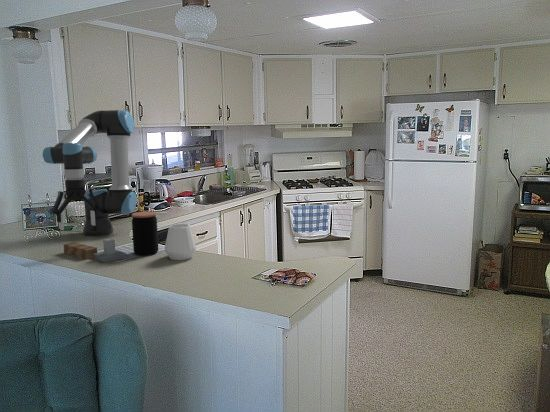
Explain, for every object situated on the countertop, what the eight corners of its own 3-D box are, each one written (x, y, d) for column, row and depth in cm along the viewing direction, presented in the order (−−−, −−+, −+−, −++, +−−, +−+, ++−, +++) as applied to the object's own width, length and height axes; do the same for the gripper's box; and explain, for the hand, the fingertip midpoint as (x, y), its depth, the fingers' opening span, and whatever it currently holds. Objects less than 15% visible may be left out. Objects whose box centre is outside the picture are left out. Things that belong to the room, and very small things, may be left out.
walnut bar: (64, 254, 205) (63, 244, 204) (74, 251, 209) (73, 242, 208) (87, 260, 195) (86, 250, 194) (97, 257, 199) (96, 247, 198)
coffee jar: (147, 248, 212) (145, 210, 209) (163, 252, 206) (161, 212, 203) (128, 253, 203) (126, 214, 200) (144, 257, 197) (142, 216, 194)
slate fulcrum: (115, 253, 204) (114, 236, 203) (126, 257, 197) (125, 239, 196) (93, 258, 197) (92, 240, 196) (104, 262, 190) (102, 243, 189)
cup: (194, 261, 191) (193, 228, 189) (162, 261, 191) (160, 229, 188) (197, 252, 205) (196, 222, 202) (167, 253, 204) (166, 222, 201)
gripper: (99, 176, 208) (102, 222, 211) (40, 180, 190) (44, 230, 194) (106, 177, 202) (109, 224, 206) (46, 181, 185) (51, 232, 188)
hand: (78, 227), depth 200 cm, fingers open, 13 cm apart
